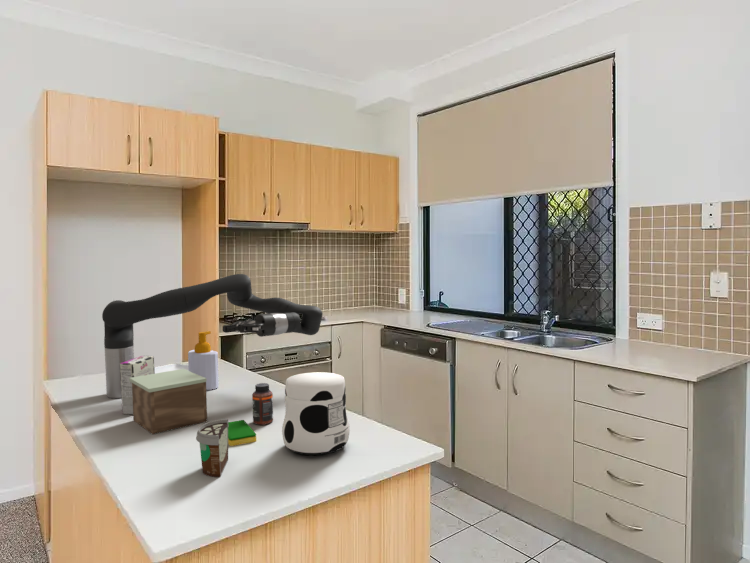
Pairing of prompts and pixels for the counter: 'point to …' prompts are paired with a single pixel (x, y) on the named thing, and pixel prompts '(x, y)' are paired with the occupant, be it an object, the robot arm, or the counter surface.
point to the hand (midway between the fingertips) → (223, 329)
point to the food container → (213, 447)
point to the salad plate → (170, 368)
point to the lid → (167, 380)
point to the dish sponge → (240, 433)
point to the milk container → (315, 413)
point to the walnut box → (169, 407)
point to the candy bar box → (133, 369)
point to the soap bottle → (204, 362)
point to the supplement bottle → (262, 404)
